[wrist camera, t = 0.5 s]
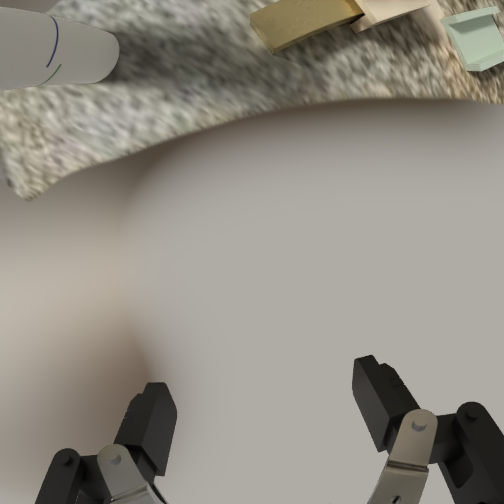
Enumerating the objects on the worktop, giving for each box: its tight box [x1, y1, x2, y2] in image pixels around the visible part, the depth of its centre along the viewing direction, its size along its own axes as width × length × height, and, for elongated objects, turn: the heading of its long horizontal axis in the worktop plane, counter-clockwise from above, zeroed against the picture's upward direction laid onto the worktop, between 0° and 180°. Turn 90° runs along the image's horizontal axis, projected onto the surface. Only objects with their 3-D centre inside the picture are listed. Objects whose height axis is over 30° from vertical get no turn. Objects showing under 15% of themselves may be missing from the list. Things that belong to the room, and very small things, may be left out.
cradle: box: [440, 6, 504, 71], centre depth 18 cm, size 8×12×4 cm, turn 125°
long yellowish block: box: [250, 0, 365, 55], centre depth 20 cm, size 4×18×4 cm, turn 122°
